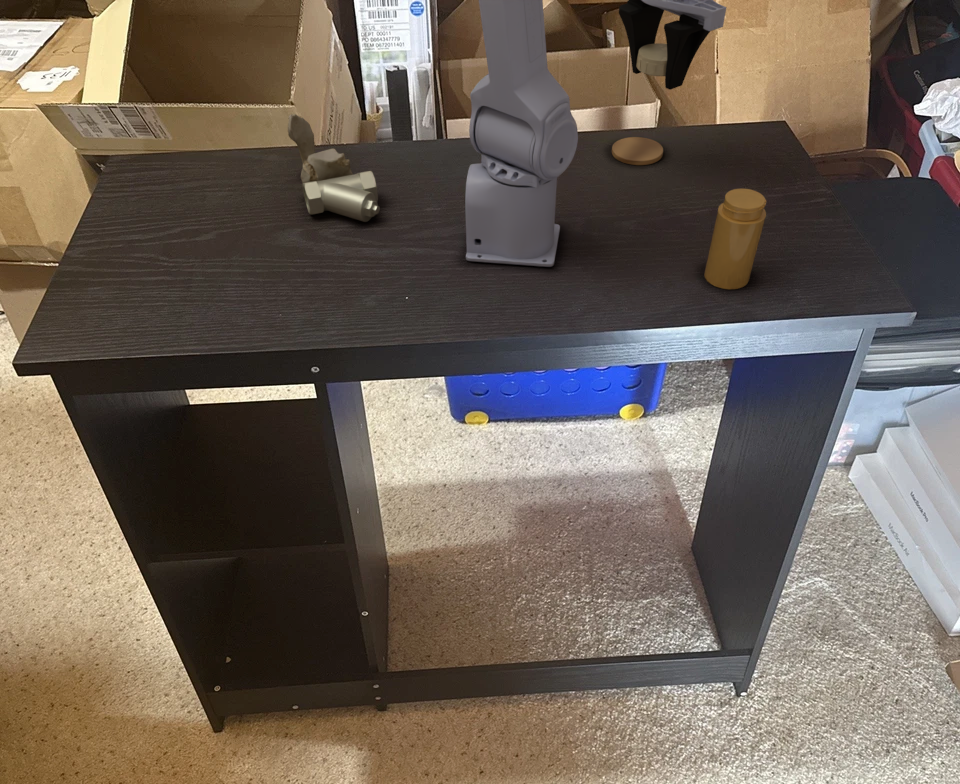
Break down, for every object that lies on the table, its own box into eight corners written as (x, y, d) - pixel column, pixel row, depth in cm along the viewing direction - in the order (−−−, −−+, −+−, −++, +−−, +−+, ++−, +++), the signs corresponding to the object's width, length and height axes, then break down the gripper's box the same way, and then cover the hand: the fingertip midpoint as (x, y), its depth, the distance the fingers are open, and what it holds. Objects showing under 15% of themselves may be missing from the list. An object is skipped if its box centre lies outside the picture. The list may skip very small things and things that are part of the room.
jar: (705, 288, 86) (722, 209, 79) (703, 263, 89) (719, 185, 82) (751, 290, 85) (772, 211, 78) (747, 265, 88) (767, 187, 82)
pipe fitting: (387, 225, 95) (371, 193, 99) (384, 195, 92) (368, 163, 96) (318, 238, 94) (305, 205, 98) (313, 208, 91) (300, 175, 95)
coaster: (610, 163, 103) (610, 159, 103) (612, 140, 108) (613, 135, 107) (662, 166, 103) (663, 162, 102) (662, 142, 107) (663, 138, 106)
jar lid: (690, 69, 94) (693, 53, 93) (657, 80, 92) (659, 64, 91) (660, 55, 97) (662, 39, 96) (627, 65, 95) (629, 49, 94)
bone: (360, 191, 97) (303, 118, 91) (317, 220, 99) (258, 151, 93) (362, 161, 103) (308, 91, 97) (321, 189, 105) (267, 122, 99)
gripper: (756, -48, 83) (729, 90, 93) (654, -81, 91) (639, 50, 101) (707, -34, 80) (683, 107, 90) (606, -68, 88) (595, 65, 98)
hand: (657, 78), depth 95 cm, fingers closed on jar lid, 5 cm apart
